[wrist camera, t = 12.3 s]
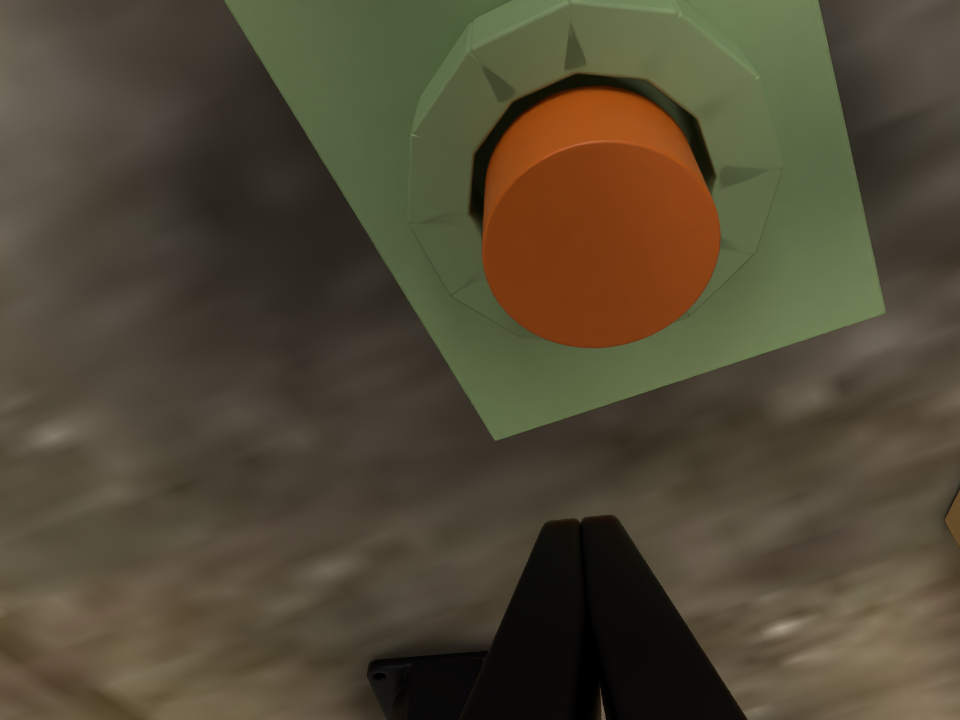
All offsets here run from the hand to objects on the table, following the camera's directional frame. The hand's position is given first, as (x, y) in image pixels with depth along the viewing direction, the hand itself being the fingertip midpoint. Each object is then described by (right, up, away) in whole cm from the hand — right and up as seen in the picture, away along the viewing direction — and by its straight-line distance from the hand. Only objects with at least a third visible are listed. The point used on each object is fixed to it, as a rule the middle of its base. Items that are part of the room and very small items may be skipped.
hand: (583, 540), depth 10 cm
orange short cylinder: (+1, +5, +6) cm, 8 cm away
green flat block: (+1, +8, +9) cm, 12 cm away
